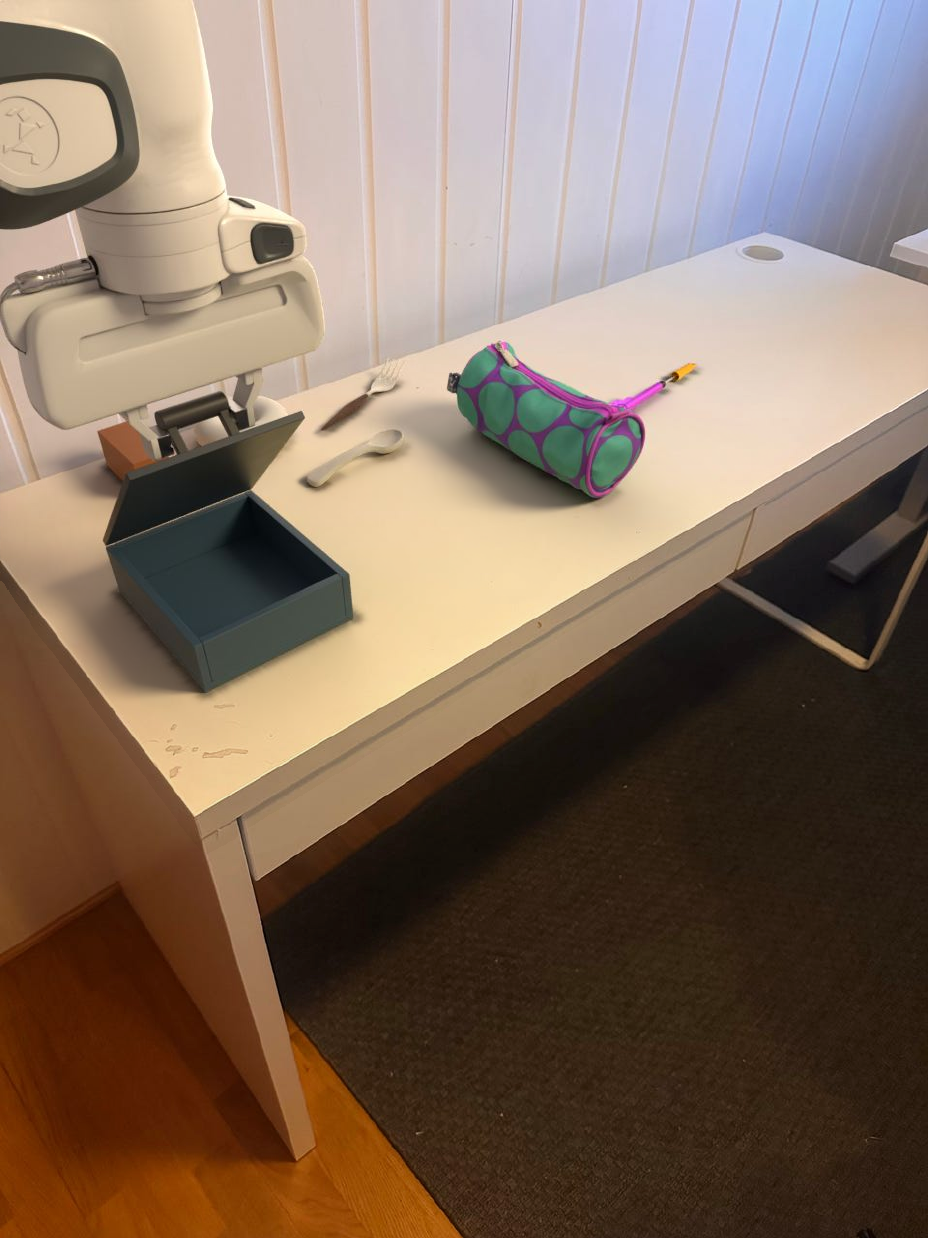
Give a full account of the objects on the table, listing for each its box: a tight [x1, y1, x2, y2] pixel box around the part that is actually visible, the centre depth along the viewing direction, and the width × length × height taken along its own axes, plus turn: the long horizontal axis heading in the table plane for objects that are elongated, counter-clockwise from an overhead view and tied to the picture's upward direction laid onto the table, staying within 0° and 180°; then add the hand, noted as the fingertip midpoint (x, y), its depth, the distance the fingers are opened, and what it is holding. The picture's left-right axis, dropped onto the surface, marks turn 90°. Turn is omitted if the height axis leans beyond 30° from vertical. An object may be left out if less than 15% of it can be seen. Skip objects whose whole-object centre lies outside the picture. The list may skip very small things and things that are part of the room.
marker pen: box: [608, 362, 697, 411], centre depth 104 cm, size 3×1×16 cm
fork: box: [320, 357, 406, 431], centre depth 100 cm, size 3×16×2 cm, turn 153°
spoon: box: [306, 428, 405, 488], centre depth 91 cm, size 3×12×2 cm, turn 135°
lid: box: [102, 390, 306, 547], centre depth 68 cm, size 16×13×4 cm
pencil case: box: [446, 340, 646, 499], centre depth 90 cm, size 21×9×10 cm, turn 39°
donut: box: [193, 395, 289, 446], centre depth 93 cm, size 10×4×10 cm
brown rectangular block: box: [96, 420, 170, 481], centre depth 88 cm, size 8×4×4 cm, turn 41°
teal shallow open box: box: [105, 489, 354, 693], centre depth 73 cm, size 15×13×5 cm
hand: (202, 440), depth 64 cm, fingers closed on lid, 5 cm apart
